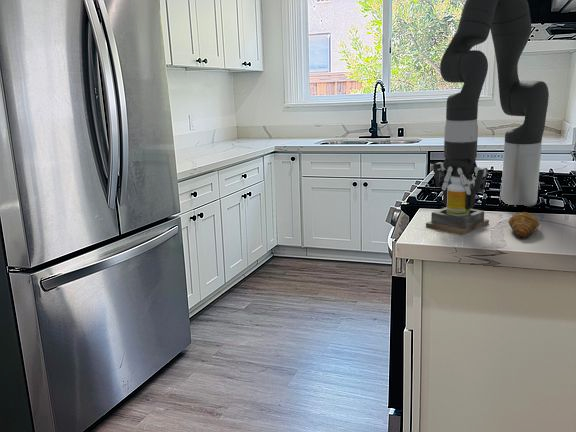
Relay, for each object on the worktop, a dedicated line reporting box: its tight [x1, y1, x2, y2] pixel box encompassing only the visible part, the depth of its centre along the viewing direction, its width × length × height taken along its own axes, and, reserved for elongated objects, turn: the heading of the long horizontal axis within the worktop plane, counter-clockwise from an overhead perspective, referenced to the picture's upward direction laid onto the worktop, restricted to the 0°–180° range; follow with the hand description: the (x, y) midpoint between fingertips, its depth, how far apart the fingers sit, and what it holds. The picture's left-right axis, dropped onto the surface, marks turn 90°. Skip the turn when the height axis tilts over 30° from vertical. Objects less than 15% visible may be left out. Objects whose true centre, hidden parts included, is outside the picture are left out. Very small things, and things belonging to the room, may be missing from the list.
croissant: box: [508, 211, 540, 240], centre depth 122 cm, size 14×7×5 cm, turn 153°
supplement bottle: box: [446, 176, 469, 217], centre depth 127 cm, size 5×5×10 cm
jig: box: [425, 206, 490, 236], centre depth 129 cm, size 12×10×4 cm
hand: (458, 206), depth 128 cm, fingers closed on supplement bottle, 5 cm apart
